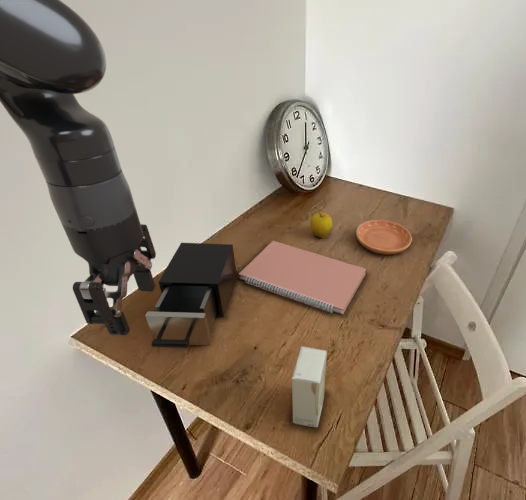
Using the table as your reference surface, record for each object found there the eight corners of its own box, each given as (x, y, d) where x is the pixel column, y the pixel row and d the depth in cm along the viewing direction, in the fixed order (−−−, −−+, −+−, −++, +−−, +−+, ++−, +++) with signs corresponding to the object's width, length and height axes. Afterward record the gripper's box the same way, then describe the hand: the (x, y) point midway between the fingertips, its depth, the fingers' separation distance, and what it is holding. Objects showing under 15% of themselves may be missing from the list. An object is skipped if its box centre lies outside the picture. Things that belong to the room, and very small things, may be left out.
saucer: (415, 235, 107) (416, 227, 105) (403, 265, 95) (405, 256, 93) (364, 222, 111) (365, 214, 109) (347, 249, 99) (348, 240, 97)
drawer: (203, 364, 65) (196, 336, 61) (146, 363, 65) (134, 334, 60) (225, 300, 79) (220, 273, 74) (177, 298, 78) (170, 271, 74)
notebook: (236, 281, 85) (236, 275, 84) (273, 245, 98) (272, 239, 97) (341, 318, 78) (341, 312, 77) (365, 274, 91) (366, 268, 89)
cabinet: (223, 317, 76) (217, 283, 70) (168, 315, 75) (158, 281, 70) (237, 276, 87) (232, 244, 81) (189, 274, 86) (181, 242, 81)
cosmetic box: (317, 428, 58) (320, 385, 51) (292, 423, 58) (290, 380, 51) (325, 393, 63) (328, 349, 56) (301, 389, 64) (301, 345, 56)
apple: (315, 227, 107) (315, 204, 102) (334, 233, 105) (336, 209, 100) (306, 238, 102) (306, 214, 97) (326, 244, 100) (328, 220, 96)
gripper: (97, 182, 47) (130, 277, 56) (20, 243, 35) (79, 350, 44) (155, 185, 47) (179, 278, 56) (99, 246, 35) (140, 351, 45)
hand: (135, 310), depth 50 cm, fingers open, 8 cm apart
